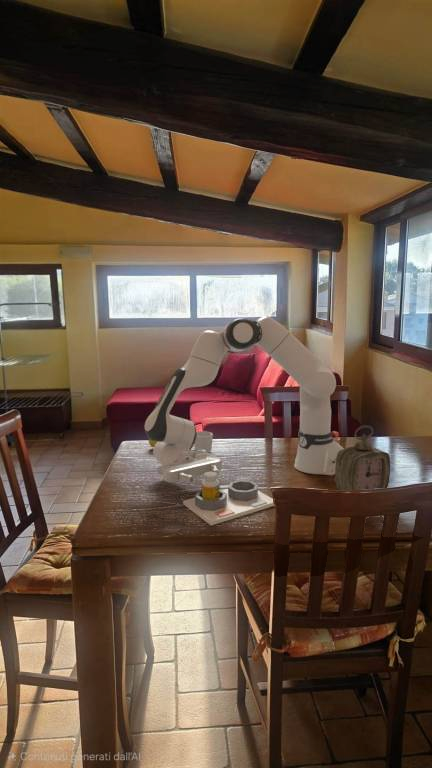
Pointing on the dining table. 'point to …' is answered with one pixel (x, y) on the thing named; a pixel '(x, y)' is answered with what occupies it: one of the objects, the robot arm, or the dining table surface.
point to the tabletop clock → (362, 466)
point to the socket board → (230, 502)
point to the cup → (203, 441)
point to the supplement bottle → (210, 486)
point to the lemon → (152, 443)
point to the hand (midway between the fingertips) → (204, 476)
